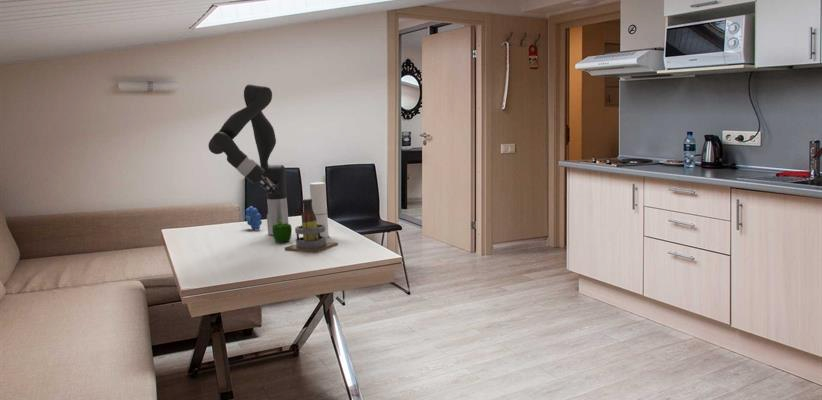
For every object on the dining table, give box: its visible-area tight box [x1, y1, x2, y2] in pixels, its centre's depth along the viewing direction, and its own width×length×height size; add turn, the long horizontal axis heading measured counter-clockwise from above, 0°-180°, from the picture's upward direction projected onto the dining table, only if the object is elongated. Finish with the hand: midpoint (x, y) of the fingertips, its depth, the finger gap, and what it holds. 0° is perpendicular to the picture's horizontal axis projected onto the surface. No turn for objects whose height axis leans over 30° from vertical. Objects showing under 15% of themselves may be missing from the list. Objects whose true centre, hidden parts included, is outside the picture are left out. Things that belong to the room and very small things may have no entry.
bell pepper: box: [272, 220, 293, 243], centre depth 287 cm, size 8×8×10 cm
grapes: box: [244, 205, 262, 230], centre depth 320 cm, size 12×7×12 cm, turn 51°
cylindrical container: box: [309, 181, 330, 238], centre depth 294 cm, size 7×7×25 cm
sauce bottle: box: [301, 198, 318, 241], centre depth 270 cm, size 7×6×20 cm
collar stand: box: [284, 224, 339, 254], centre depth 271 cm, size 16×16×9 cm
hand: (280, 195), depth 267 cm, fingers open, 8 cm apart
